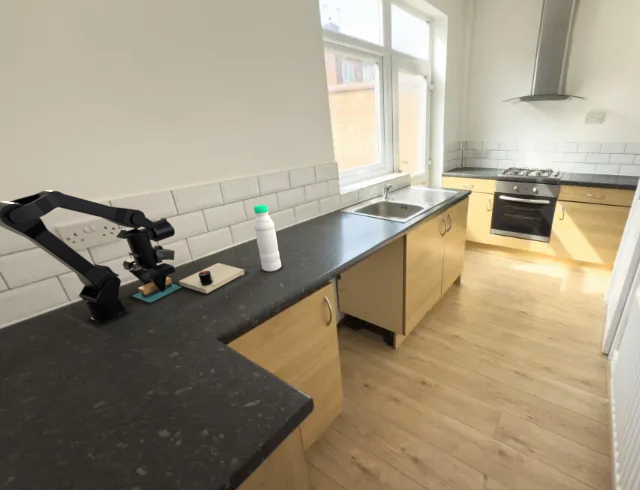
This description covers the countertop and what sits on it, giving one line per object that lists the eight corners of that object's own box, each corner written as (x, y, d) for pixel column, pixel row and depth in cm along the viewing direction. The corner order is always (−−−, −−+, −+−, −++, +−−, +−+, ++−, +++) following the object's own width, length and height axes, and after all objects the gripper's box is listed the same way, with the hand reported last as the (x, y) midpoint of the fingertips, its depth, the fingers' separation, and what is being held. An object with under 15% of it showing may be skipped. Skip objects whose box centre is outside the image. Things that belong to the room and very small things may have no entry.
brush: (146, 298, 104) (143, 290, 103) (140, 296, 105) (137, 288, 104) (173, 286, 111) (170, 277, 110) (167, 284, 113) (164, 276, 111)
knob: (215, 282, 110) (212, 271, 108) (206, 286, 107) (202, 275, 105) (208, 280, 112) (205, 269, 110) (199, 284, 109) (195, 273, 107)
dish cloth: (150, 303, 102) (149, 302, 102) (132, 296, 106) (131, 295, 106) (182, 287, 111) (182, 286, 111) (165, 282, 115) (164, 281, 115)
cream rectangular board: (206, 296, 105) (204, 290, 105) (177, 287, 112) (176, 281, 111) (246, 274, 119) (245, 269, 118) (219, 267, 125) (217, 262, 124)
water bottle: (284, 264, 126) (274, 203, 116) (277, 272, 120) (265, 208, 110) (267, 264, 127) (255, 203, 117) (259, 272, 121) (246, 208, 110)
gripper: (183, 242, 104) (196, 284, 111) (149, 234, 112) (163, 274, 118) (148, 255, 95) (164, 299, 102) (114, 246, 103) (131, 287, 109)
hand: (156, 289), depth 108 cm, fingers open, 7 cm apart
